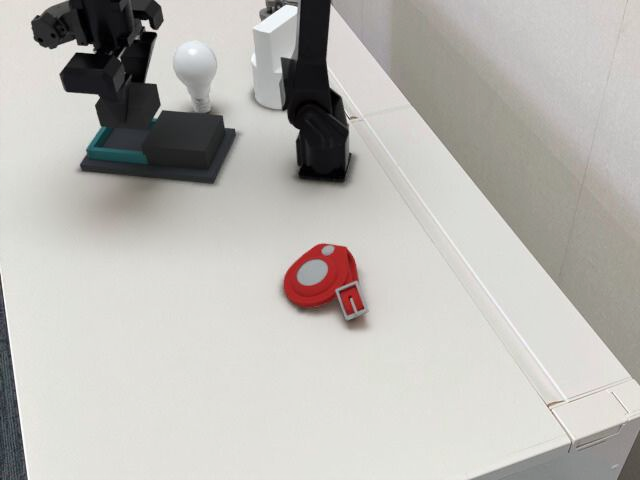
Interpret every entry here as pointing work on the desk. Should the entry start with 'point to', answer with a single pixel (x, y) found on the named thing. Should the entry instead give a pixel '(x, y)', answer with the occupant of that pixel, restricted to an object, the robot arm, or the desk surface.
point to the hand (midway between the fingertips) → (130, 108)
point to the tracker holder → (326, 280)
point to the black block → (133, 108)
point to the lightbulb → (196, 71)
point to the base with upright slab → (272, 54)
